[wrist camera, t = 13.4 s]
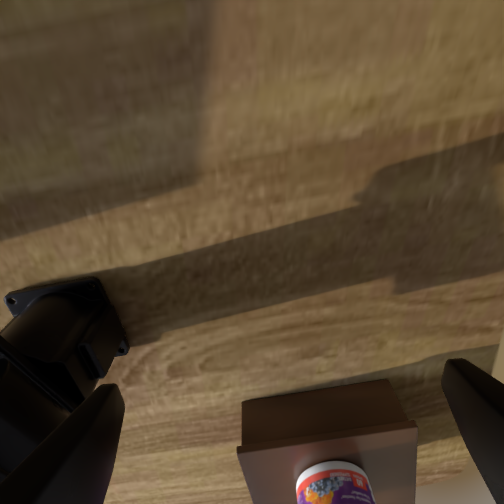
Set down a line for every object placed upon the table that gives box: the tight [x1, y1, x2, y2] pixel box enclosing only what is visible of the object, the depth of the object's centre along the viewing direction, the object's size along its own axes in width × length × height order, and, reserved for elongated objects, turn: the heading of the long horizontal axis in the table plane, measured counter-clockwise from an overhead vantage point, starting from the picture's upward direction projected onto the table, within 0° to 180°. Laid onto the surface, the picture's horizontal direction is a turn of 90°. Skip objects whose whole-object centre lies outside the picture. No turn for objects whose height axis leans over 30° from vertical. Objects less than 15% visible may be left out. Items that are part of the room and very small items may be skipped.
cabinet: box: [237, 379, 418, 504], centre depth 28 cm, size 13×10×5 cm
